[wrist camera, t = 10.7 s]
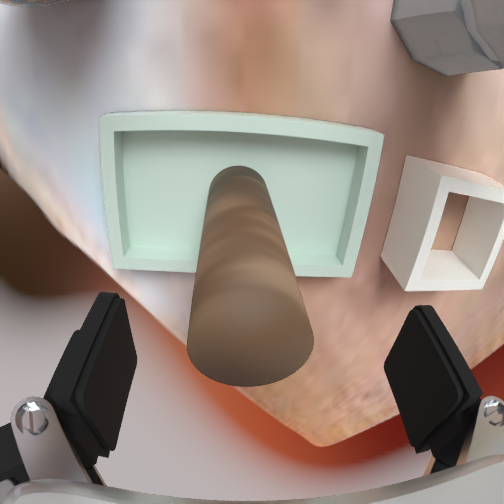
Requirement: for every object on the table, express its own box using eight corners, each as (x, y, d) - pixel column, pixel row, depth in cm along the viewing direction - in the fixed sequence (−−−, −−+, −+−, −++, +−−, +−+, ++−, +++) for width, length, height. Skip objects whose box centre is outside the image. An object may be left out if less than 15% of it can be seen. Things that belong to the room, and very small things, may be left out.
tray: (369, 128, 21) (384, 134, 18) (342, 260, 26) (351, 277, 24) (112, 112, 19) (98, 116, 17) (122, 251, 24) (113, 268, 22)
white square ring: (482, 173, 23) (518, 194, 18) (454, 259, 27) (482, 289, 23) (405, 155, 22) (441, 175, 17) (380, 256, 26) (404, 291, 22)
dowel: (270, 167, 21) (326, 301, 9) (264, 221, 23) (301, 385, 11) (209, 164, 21) (183, 298, 9) (208, 218, 23) (190, 385, 11)
